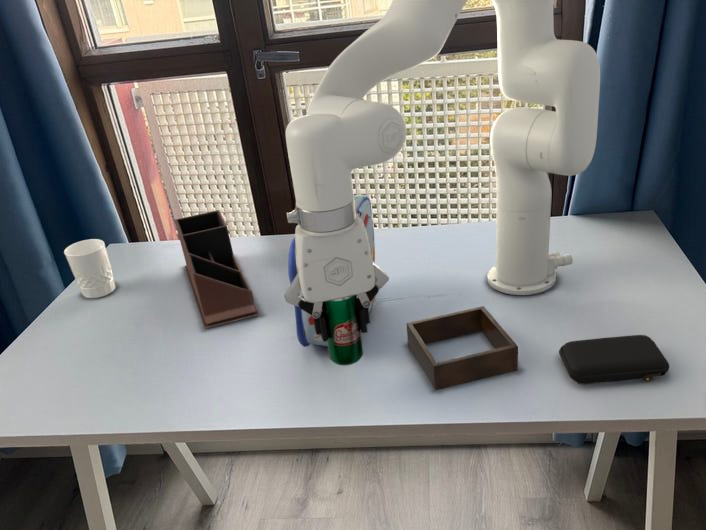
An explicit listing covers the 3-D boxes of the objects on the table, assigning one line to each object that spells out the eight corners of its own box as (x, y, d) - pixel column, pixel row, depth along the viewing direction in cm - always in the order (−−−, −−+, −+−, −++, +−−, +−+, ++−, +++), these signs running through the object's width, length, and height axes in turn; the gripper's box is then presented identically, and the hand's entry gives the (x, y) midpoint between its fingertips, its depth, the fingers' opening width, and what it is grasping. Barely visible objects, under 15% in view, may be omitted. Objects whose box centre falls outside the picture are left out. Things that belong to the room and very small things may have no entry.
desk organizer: (231, 256, 155) (221, 208, 149) (260, 315, 131) (248, 261, 125) (184, 267, 152) (171, 219, 146) (204, 330, 129) (189, 275, 123)
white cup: (72, 298, 145) (55, 254, 140) (97, 280, 151) (82, 237, 146) (101, 301, 143) (86, 257, 137) (126, 283, 149) (112, 240, 143)
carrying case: (573, 394, 103) (675, 385, 102) (574, 377, 101) (678, 368, 100) (555, 354, 112) (649, 345, 111) (556, 338, 110) (651, 329, 109)
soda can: (338, 371, 101) (328, 298, 95) (324, 355, 105) (313, 284, 98) (369, 360, 103) (361, 287, 96) (354, 344, 107) (345, 274, 100)
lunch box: (333, 283, 139) (318, 175, 127) (384, 283, 137) (374, 174, 125) (294, 361, 117) (271, 239, 105) (354, 363, 115) (338, 239, 103)
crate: (483, 328, 120) (483, 305, 118) (517, 370, 109) (518, 346, 106) (408, 345, 118) (406, 323, 115) (435, 390, 107) (433, 366, 104)
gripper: (266, 237, 87) (289, 358, 97) (397, 212, 90) (407, 332, 100) (258, 216, 93) (281, 332, 103) (381, 193, 96) (392, 308, 106)
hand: (343, 331), depth 101 cm, fingers closed on soda can, 5 cm apart
